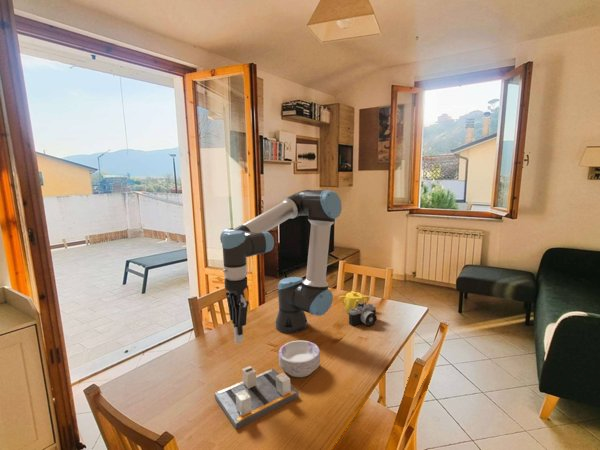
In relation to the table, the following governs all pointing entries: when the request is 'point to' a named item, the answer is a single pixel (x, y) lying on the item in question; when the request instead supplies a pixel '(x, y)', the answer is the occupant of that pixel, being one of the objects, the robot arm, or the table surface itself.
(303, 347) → the paper bowls
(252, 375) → the breaker
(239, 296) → the robot arm
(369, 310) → the camera
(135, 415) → the table surface
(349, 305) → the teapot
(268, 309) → the table surface
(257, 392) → the panel
